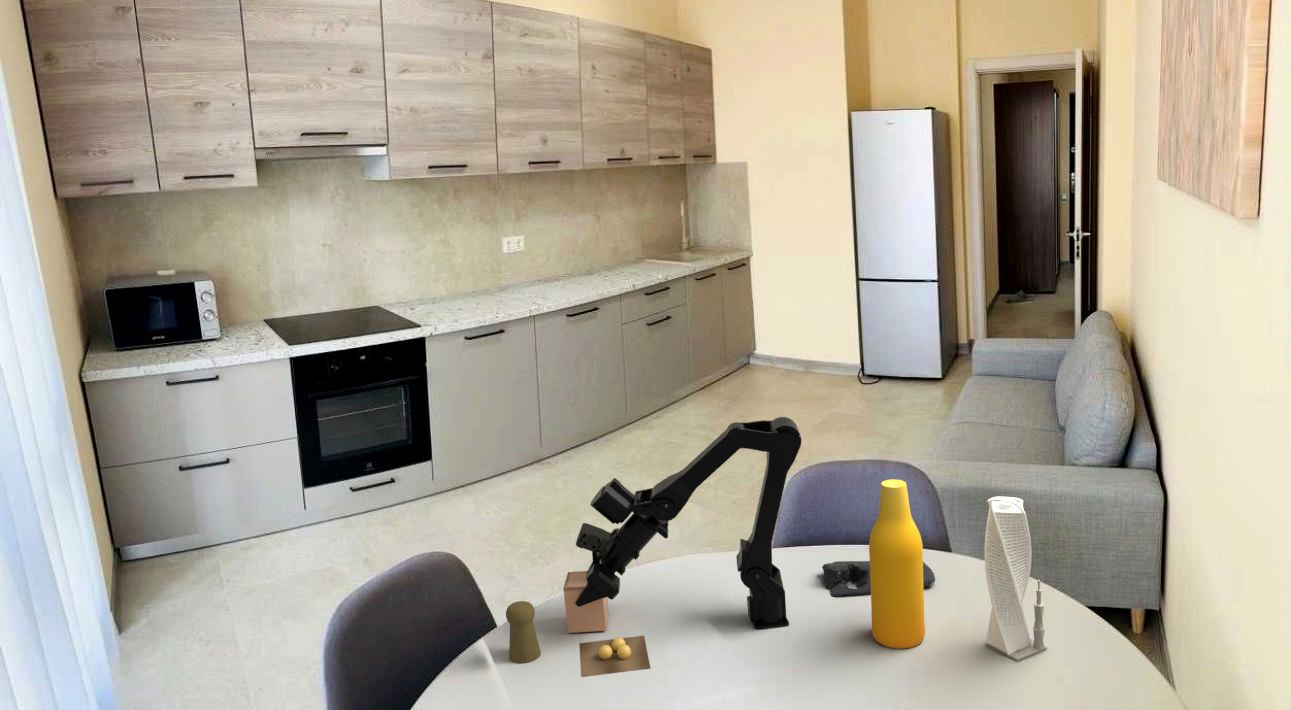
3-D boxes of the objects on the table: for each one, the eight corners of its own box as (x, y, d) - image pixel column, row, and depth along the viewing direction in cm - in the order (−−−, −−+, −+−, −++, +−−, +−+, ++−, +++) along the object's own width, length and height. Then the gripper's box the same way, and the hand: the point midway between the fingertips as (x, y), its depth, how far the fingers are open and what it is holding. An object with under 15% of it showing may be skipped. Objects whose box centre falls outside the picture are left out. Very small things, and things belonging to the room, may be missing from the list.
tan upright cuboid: (609, 612, 187) (604, 569, 185) (606, 630, 180) (601, 586, 178) (572, 615, 187) (568, 572, 186) (568, 632, 180) (563, 588, 179)
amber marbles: (623, 646, 175) (622, 633, 174) (633, 659, 170) (632, 646, 169) (594, 653, 173) (593, 640, 173) (604, 667, 168) (603, 654, 168)
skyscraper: (1011, 664, 160) (1010, 505, 154) (974, 644, 167) (972, 492, 161) (1046, 649, 164) (1047, 494, 158) (1009, 630, 171) (1008, 481, 165)
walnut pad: (644, 640, 178) (643, 635, 178) (651, 673, 166) (650, 668, 166) (580, 648, 177) (579, 643, 177) (582, 682, 165) (581, 676, 165)
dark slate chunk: (941, 596, 187) (940, 574, 186) (826, 600, 189) (825, 577, 188) (926, 564, 201) (925, 542, 200) (820, 567, 204) (819, 546, 203)
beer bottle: (929, 628, 174) (925, 476, 168) (920, 653, 166) (916, 494, 160) (877, 621, 178) (872, 473, 172) (867, 645, 170) (861, 490, 164)
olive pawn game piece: (536, 669, 171) (530, 612, 169) (504, 668, 172) (497, 611, 170) (546, 652, 177) (540, 597, 174) (515, 651, 178) (509, 596, 176)
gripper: (602, 494, 188) (553, 550, 191) (593, 530, 170) (539, 591, 173) (646, 529, 189) (596, 584, 192) (641, 568, 171) (586, 629, 174)
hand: (579, 595), depth 183 cm, fingers closed on tan upright cuboid, 7 cm apart
